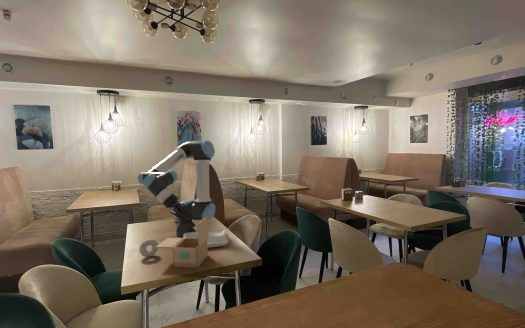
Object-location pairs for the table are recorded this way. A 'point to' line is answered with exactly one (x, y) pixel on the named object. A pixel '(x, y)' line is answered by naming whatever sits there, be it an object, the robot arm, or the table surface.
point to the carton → (186, 251)
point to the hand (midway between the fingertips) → (199, 230)
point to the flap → (202, 231)
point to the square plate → (211, 237)
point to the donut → (147, 243)
